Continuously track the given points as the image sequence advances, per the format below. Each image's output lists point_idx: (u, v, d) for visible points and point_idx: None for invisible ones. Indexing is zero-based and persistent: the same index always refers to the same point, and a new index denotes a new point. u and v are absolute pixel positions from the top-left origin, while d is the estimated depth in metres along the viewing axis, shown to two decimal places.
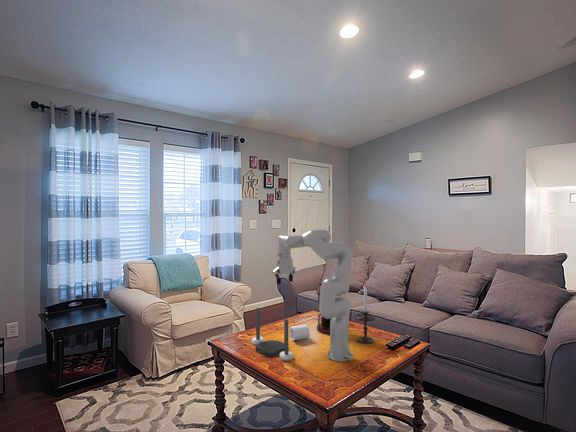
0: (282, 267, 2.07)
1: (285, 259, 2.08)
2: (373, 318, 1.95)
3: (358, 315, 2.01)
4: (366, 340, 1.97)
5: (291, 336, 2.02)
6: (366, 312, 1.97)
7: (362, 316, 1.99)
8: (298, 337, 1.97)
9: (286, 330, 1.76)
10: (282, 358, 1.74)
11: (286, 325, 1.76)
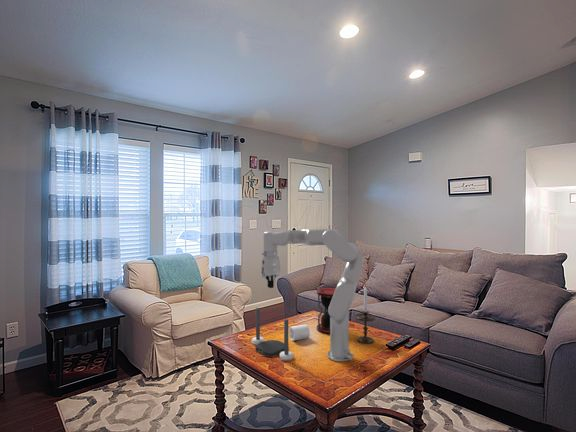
0: (267, 268, 1.81)
1: (271, 258, 1.83)
2: (373, 318, 1.95)
3: (358, 315, 2.01)
4: (366, 340, 1.97)
5: (291, 336, 2.02)
6: (366, 312, 1.97)
7: (362, 316, 1.99)
8: (298, 337, 1.97)
9: (286, 330, 1.76)
10: (282, 358, 1.74)
11: (286, 325, 1.76)
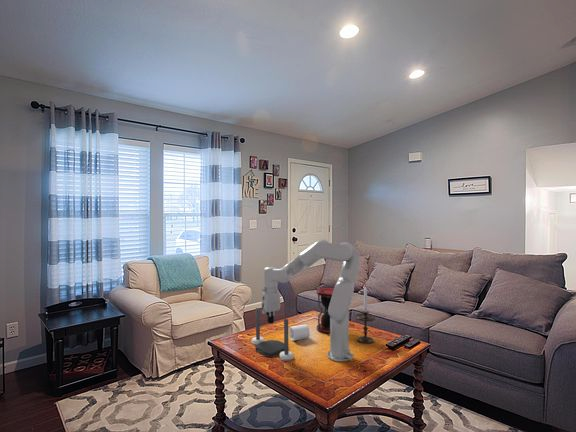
0: (267, 304, 1.82)
1: (271, 295, 1.83)
2: (373, 318, 1.95)
3: (358, 315, 2.01)
4: (366, 340, 1.97)
5: (291, 336, 2.02)
6: (366, 312, 1.97)
7: (362, 316, 1.99)
8: (298, 337, 1.97)
9: (286, 330, 1.76)
10: (282, 358, 1.74)
11: (286, 325, 1.76)
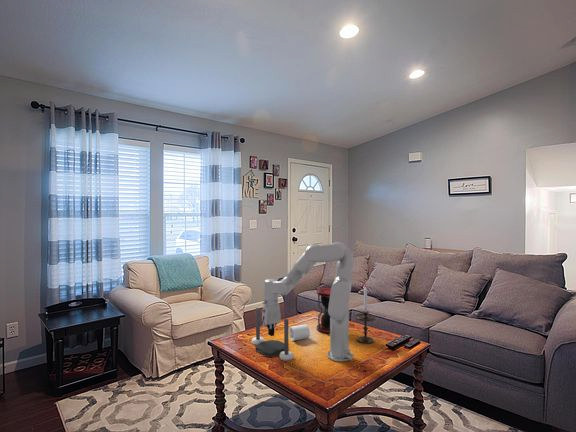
0: (268, 317, 1.82)
1: (271, 307, 1.83)
2: (373, 318, 1.95)
3: (358, 315, 2.01)
4: (366, 340, 1.97)
5: (291, 336, 2.02)
6: (366, 312, 1.97)
7: (362, 316, 1.99)
8: (298, 337, 1.97)
9: (286, 330, 1.76)
10: (282, 358, 1.74)
11: (286, 325, 1.76)
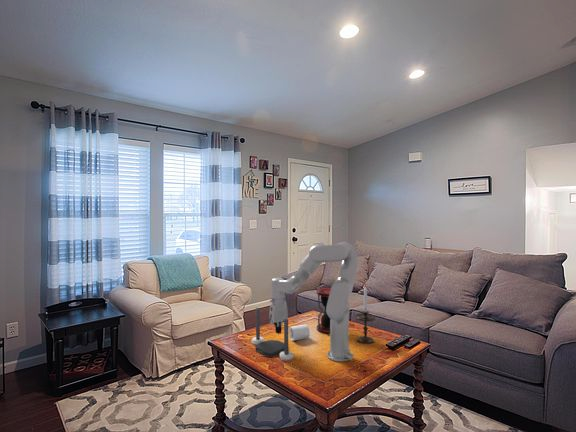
0: (275, 315, 1.85)
1: (279, 305, 1.87)
2: (373, 318, 1.95)
3: (358, 315, 2.01)
4: (366, 340, 1.97)
5: (291, 336, 2.02)
6: (366, 312, 1.97)
7: (362, 316, 1.99)
8: (298, 337, 1.97)
9: (286, 330, 1.76)
10: (282, 358, 1.74)
11: (286, 325, 1.76)
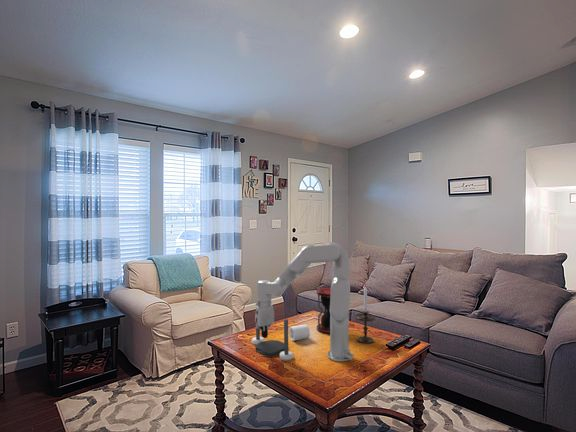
0: (261, 318, 1.79)
1: (265, 309, 1.81)
2: (373, 318, 1.95)
3: (358, 315, 2.01)
4: (366, 340, 1.97)
5: (291, 336, 2.02)
6: (366, 312, 1.97)
7: (362, 316, 1.99)
8: (298, 337, 1.97)
9: (286, 330, 1.76)
10: (282, 358, 1.74)
11: (286, 325, 1.76)
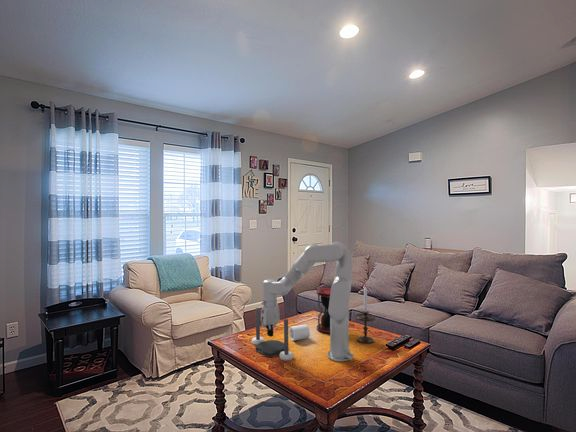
0: (267, 317, 1.82)
1: (270, 308, 1.83)
2: (373, 318, 1.95)
3: (358, 315, 2.01)
4: (366, 340, 1.97)
5: (291, 336, 2.02)
6: (366, 312, 1.97)
7: (362, 316, 1.99)
8: (298, 337, 1.97)
9: (286, 330, 1.76)
10: (282, 358, 1.74)
11: (286, 325, 1.76)
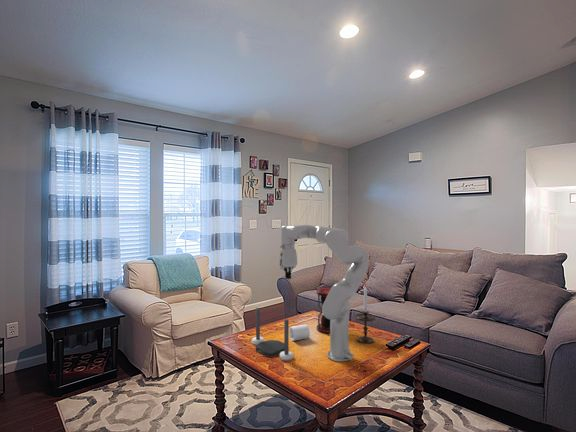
0: (285, 259, 1.92)
1: (288, 251, 1.93)
2: (373, 318, 1.95)
3: (358, 315, 2.01)
4: (366, 340, 1.97)
5: (291, 336, 2.02)
6: (366, 312, 1.97)
7: (362, 316, 1.99)
8: (298, 337, 1.97)
9: (286, 330, 1.76)
10: (282, 358, 1.74)
11: (286, 325, 1.76)
